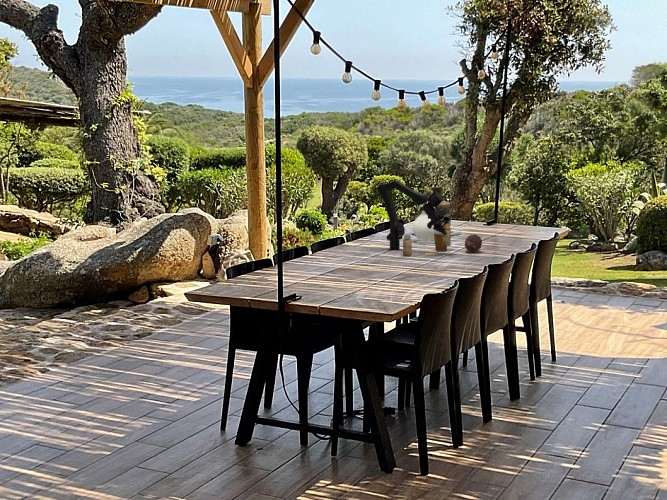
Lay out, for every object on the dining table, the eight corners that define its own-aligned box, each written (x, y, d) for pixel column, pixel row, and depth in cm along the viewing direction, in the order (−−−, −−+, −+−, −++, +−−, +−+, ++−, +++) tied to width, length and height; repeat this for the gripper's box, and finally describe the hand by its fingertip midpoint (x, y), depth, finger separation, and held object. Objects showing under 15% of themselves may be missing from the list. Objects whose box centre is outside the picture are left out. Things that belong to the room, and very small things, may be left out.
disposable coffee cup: (448, 251, 493) (449, 231, 491) (432, 251, 494) (432, 230, 493) (450, 249, 502) (450, 228, 500) (433, 248, 504) (433, 228, 502)
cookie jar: (432, 231, 581) (433, 183, 576) (462, 234, 564) (463, 185, 559) (409, 234, 563) (409, 185, 558) (439, 238, 546) (440, 187, 541)
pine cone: (466, 249, 503) (466, 232, 501) (483, 249, 500) (484, 232, 499) (462, 253, 486) (462, 236, 484) (480, 254, 483) (480, 236, 482)
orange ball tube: (440, 245, 479) (440, 223, 477) (447, 244, 481) (448, 222, 479) (444, 246, 475) (445, 224, 473) (452, 245, 477) (452, 223, 475)
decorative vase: (441, 240, 536) (441, 200, 532) (441, 244, 519) (442, 203, 515) (412, 240, 538) (412, 200, 534) (412, 244, 521) (412, 203, 517)
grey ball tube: (401, 255, 476) (401, 233, 474) (408, 254, 477) (409, 232, 476) (405, 256, 471) (405, 234, 469) (413, 256, 473) (413, 234, 471)
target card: (396, 256, 478) (396, 254, 478) (431, 253, 487) (431, 252, 487) (406, 259, 468) (406, 257, 468) (441, 256, 477) (441, 254, 477)
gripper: (432, 204, 469) (449, 226, 465) (449, 201, 484) (466, 222, 479) (419, 217, 475) (436, 239, 470) (436, 214, 490) (453, 235, 485)
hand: (448, 233), depth 476 cm, fingers closed on orange ball tube, 5 cm apart
